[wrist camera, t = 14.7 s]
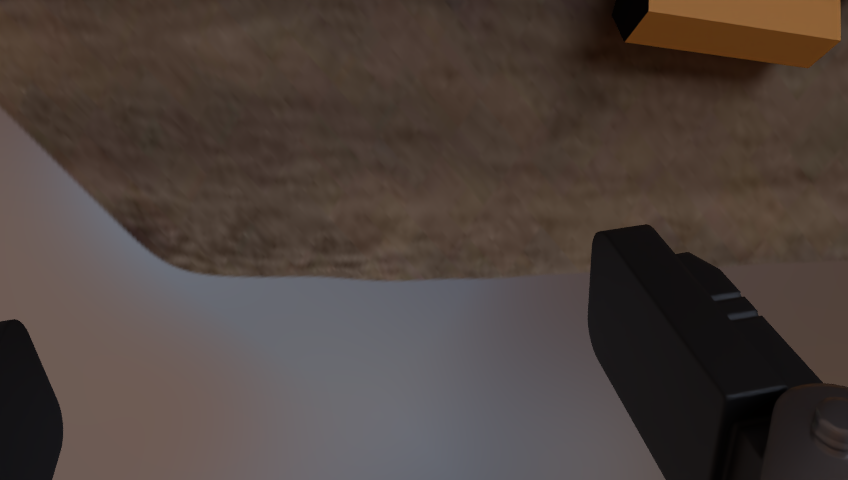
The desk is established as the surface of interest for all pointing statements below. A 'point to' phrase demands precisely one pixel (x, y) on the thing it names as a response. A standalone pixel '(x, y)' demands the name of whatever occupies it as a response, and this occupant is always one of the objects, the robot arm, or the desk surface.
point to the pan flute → (735, 27)
